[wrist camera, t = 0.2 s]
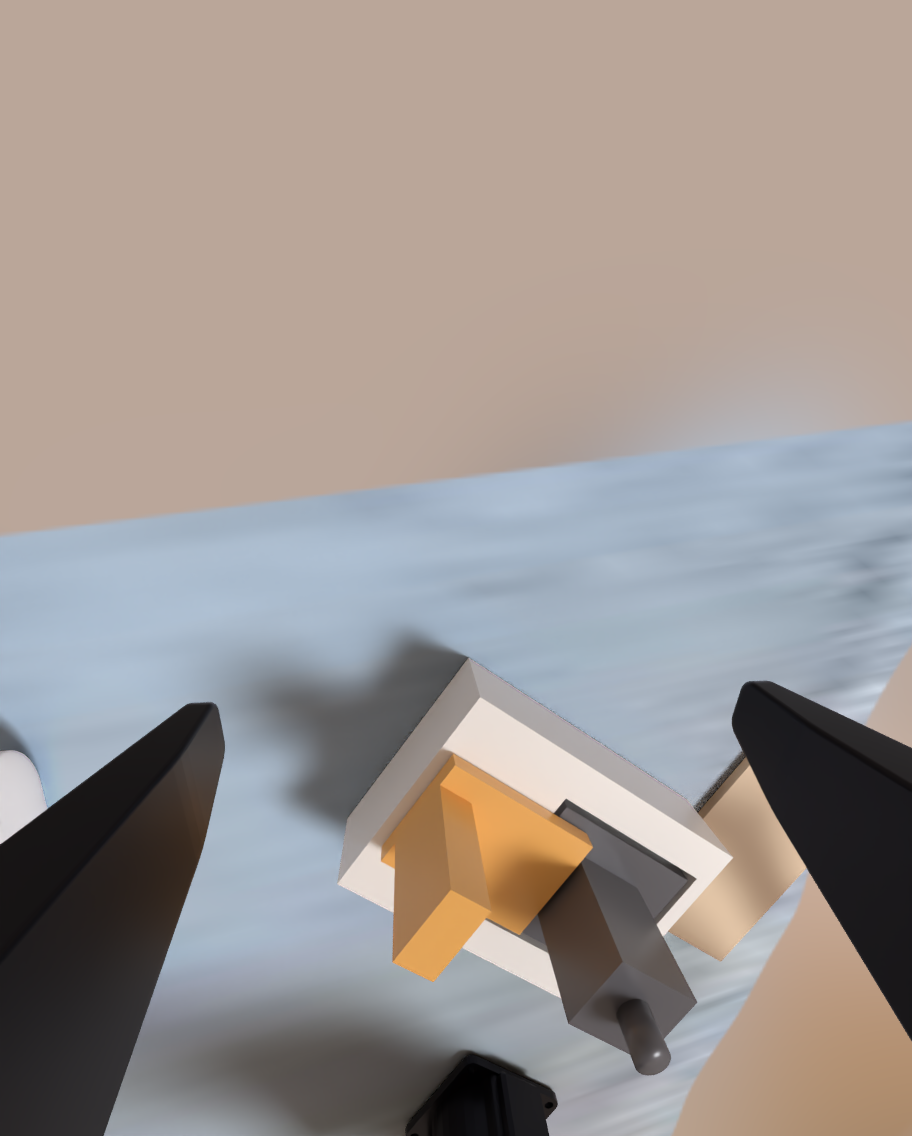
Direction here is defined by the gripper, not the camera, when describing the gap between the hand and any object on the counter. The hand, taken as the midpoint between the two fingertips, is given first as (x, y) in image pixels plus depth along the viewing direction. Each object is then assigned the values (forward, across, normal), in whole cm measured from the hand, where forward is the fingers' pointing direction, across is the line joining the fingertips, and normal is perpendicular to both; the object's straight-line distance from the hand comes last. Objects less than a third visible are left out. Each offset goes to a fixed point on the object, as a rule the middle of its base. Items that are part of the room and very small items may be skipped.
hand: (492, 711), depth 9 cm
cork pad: (+11, -16, +19) cm, 27 cm away
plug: (+8, -6, +17) cm, 20 cm away
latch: (+8, -2, +14) cm, 16 cm away
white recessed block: (+12, -4, +16) cm, 20 cm away
